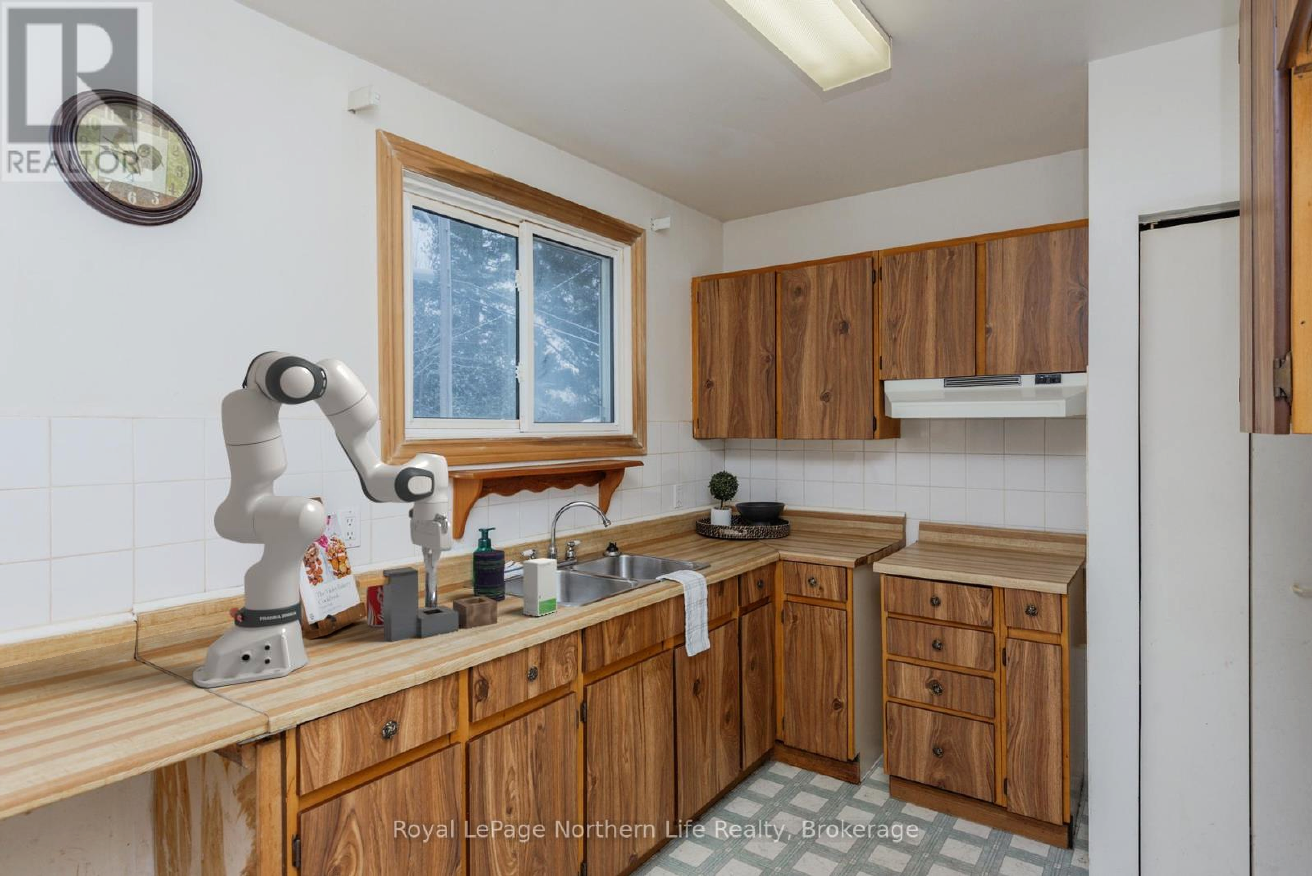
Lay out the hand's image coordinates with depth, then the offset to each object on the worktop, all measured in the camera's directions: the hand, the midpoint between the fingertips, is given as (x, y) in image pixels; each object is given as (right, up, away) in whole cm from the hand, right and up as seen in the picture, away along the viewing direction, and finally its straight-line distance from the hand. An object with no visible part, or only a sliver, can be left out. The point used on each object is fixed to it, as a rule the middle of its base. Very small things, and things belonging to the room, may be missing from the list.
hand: (431, 564), depth 188 cm
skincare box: (+26, -18, +18) cm, 36 cm away
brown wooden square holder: (+10, -18, +8) cm, 22 cm away
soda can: (-16, -18, +6) cm, 25 cm away
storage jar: (+7, -18, +35) cm, 39 cm away
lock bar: (-9, -3, -7) cm, 12 cm away
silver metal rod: (0, -11, 0) cm, 11 cm away
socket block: (-2, -18, -2) cm, 18 cm away
